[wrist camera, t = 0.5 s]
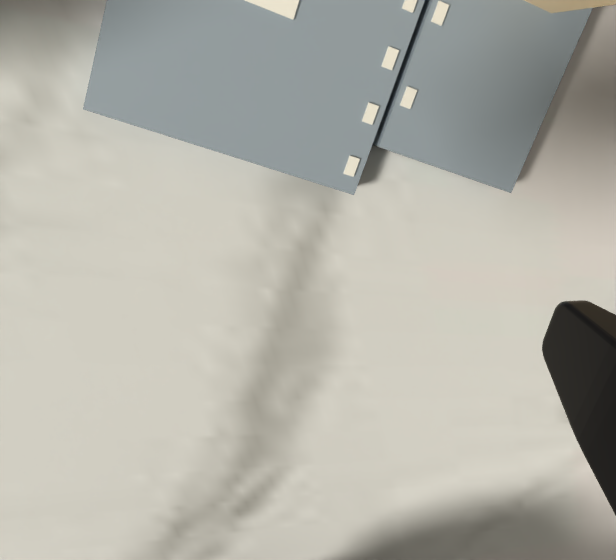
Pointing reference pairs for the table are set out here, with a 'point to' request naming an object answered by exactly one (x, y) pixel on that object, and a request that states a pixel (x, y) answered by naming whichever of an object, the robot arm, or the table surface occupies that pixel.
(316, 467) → the table surface
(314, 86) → the board
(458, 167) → the grey slab with post
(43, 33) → the table surface
